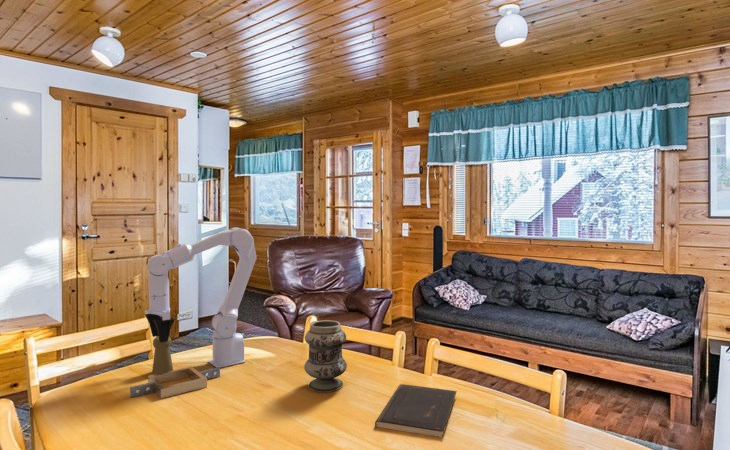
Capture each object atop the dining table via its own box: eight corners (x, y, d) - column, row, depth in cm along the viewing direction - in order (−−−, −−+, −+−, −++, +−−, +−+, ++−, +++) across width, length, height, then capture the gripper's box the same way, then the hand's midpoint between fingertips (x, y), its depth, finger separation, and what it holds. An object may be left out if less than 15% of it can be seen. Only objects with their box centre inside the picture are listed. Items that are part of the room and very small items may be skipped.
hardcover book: (456, 399, 127) (456, 390, 127) (443, 440, 105) (443, 430, 105) (398, 391, 132) (398, 383, 132) (374, 429, 110) (374, 419, 110)
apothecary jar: (334, 374, 143) (334, 316, 142) (354, 388, 132) (354, 325, 132) (297, 382, 136) (297, 321, 135) (316, 397, 126) (316, 331, 125)
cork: (168, 375, 141) (167, 339, 141) (148, 375, 142) (147, 339, 141) (176, 368, 147) (176, 333, 147) (157, 368, 148) (156, 333, 147)
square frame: (211, 370, 146) (211, 362, 146) (227, 382, 137) (227, 373, 136) (125, 389, 131) (124, 380, 131) (136, 404, 121) (136, 395, 121)
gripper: (138, 292, 146) (139, 335, 147) (151, 300, 135) (152, 347, 135) (162, 289, 150) (163, 331, 151) (177, 297, 139) (178, 342, 140)
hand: (160, 338), depth 144 cm, fingers open, 7 cm apart
